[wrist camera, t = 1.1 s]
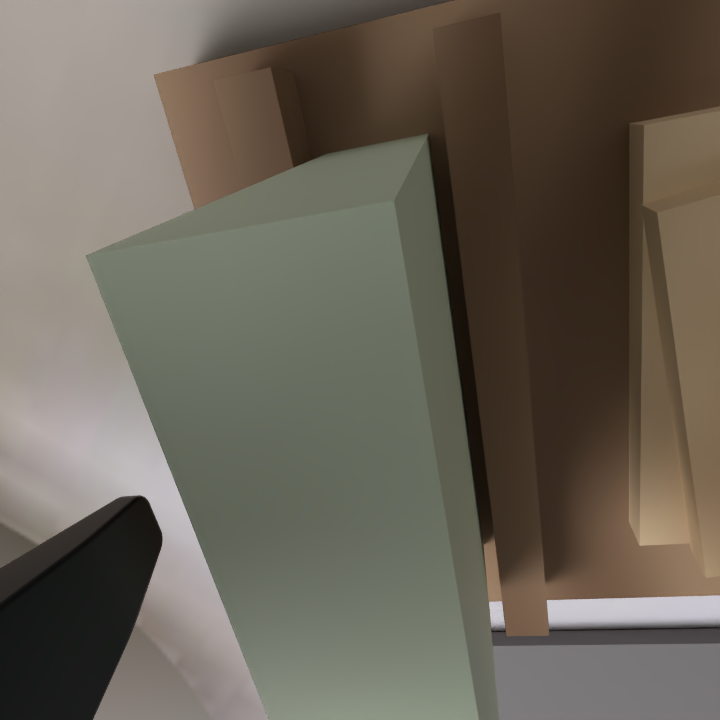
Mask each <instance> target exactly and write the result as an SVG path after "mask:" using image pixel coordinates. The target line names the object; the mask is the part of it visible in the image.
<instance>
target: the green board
mask: <svg viewBox="0 0 720 720" xmlns="http://www.w3.org/2000/svg"><path fill="white" fill-rule="evenodd" d="M86 257H87V260H88V262H89V265H90V267H91V270H92V272H93V275H94V277H95V280H96V282H97V285H98V287H99V290H100V293H101V295H102V298H103V300H104V303H105V305H106V308H107V310H108V313H109V315H110V318H111V320H112V323H113V326H114V328H115V331H116V333H117V336H118V338H119V341H120V343H121V346H122V348H123V351H124V354H125V356H126V359H127V361H128V364H129V366H130V369H131V371H132V374H133V376H134V379H135V381H136V384H137V387H138V389H139V392H140V394H141V397H142V399H143V402H144V404H145V407H146V409H147V412H148V414H149V417H150V420H151V422H152V425H153V427H154V430H155V432H156V435H157V437H158V440H159V442H160V445H161V447H162V450H163V453H164V455H165V458H166V460H167V463H168V465H169V468H170V470H171V473H172V475H173V478H174V480H175V483H176V486H177V488H178V491H179V493H180V496H181V498H182V501H183V503H184V506H185V508H186V511H187V513H188V516H189V519H190V521H191V524H192V526H193V529H194V531H195V534H196V536H197V539H198V541H199V544H200V546H201V549H202V552H203V554H204V557H205V559H206V562H207V564H208V567H209V569H210V572H211V574H212V577H213V579H214V582H215V585H216V587H217V590H218V592H219V595H220V597H221V600H222V602H223V605H224V607H225V610H226V612H227V615H228V618H229V620H230V623H231V625H232V628H233V630H234V633H235V635H236V638H237V640H238V643H239V645H240V648H241V651H242V653H243V656H244V658H245V661H246V663H247V666H248V668H249V671H250V673H251V676H252V679H253V681H254V684H255V686H256V689H257V691H258V694H259V696H260V699H261V701H262V704H263V706H264V709H265V712H266V714H267V717H268V719H269V720H499V711H498V700H497V688H496V677H495V666H494V655H493V644H492V633H491V622H490V610H489V599H488V588H487V577H486V566H485V555H484V544H483V536H482V529H481V521H480V514H479V506H478V499H477V491H476V484H475V476H474V469H473V461H472V454H471V446H470V439H469V431H468V423H467V416H466V408H465V401H464V393H463V386H462V378H461V371H460V363H459V356H458V348H457V341H456V333H455V326H454V318H453V311H452V303H451V295H450V288H449V280H448V273H447V265H446V258H445V250H444V243H443V235H442V228H441V220H440V213H439V205H438V198H437V190H436V183H435V175H434V167H433V160H432V152H431V145H430V137H429V133H428V134H423V135H418V136H413V137H408V138H403V139H398V140H393V141H388V142H383V143H378V144H373V145H368V146H363V147H358V148H353V149H348V150H343V151H338V152H333V153H328V154H325V155H323V156H320V157H318V158H316V159H313V160H311V161H308V162H306V163H304V164H301V165H299V166H297V167H294V168H292V169H290V170H287V171H285V172H282V173H280V174H278V175H275V176H273V177H271V178H268V179H266V180H264V181H261V182H259V183H256V184H254V185H252V186H249V187H247V188H245V189H242V190H240V191H238V192H235V193H233V194H230V195H228V196H226V197H223V198H221V199H219V200H216V201H214V202H212V203H209V204H207V205H204V206H202V207H200V208H197V209H195V210H193V211H190V212H188V213H185V214H183V215H181V216H178V217H176V218H174V219H171V220H169V221H167V222H164V223H162V224H159V225H157V226H155V227H152V228H150V229H148V230H145V231H143V232H141V233H138V234H136V235H133V236H131V237H129V238H126V239H124V240H122V241H119V242H117V243H115V244H112V245H110V246H107V247H105V248H103V249H100V250H98V251H96V252H93V253H91V254H89V255H86Z"/></svg>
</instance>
